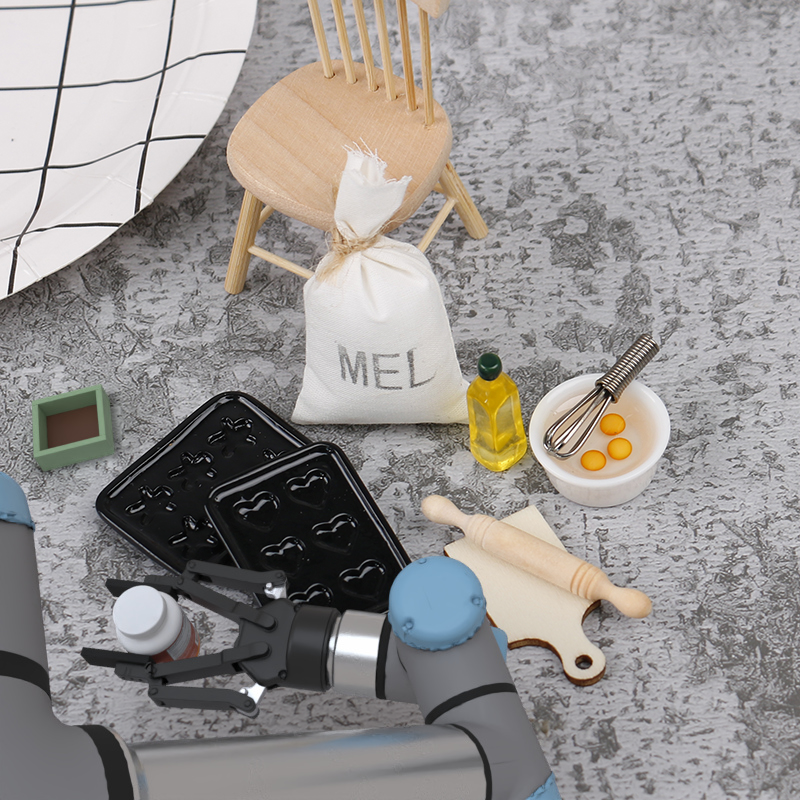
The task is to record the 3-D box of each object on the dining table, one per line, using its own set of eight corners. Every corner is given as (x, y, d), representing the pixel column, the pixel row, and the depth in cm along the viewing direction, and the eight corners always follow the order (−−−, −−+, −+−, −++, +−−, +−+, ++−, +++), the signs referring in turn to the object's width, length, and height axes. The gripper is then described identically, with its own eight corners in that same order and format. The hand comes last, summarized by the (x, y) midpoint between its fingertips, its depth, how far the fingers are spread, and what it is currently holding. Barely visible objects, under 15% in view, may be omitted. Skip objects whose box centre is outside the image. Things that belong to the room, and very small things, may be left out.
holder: (114, 454, 121) (106, 439, 118) (44, 472, 120) (33, 457, 117) (109, 399, 126) (101, 383, 123) (41, 416, 125) (31, 400, 122)
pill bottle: (128, 665, 93) (89, 624, 84) (164, 611, 96) (130, 566, 87) (179, 692, 91) (144, 654, 82) (214, 637, 94) (184, 594, 85)
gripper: (321, 769, 84) (77, 734, 87) (359, 572, 94) (141, 548, 98) (309, 745, 77) (47, 709, 81) (350, 537, 88) (118, 513, 92)
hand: (99, 621), depth 89 cm, fingers closed on pill bottle, 6 cm apart
